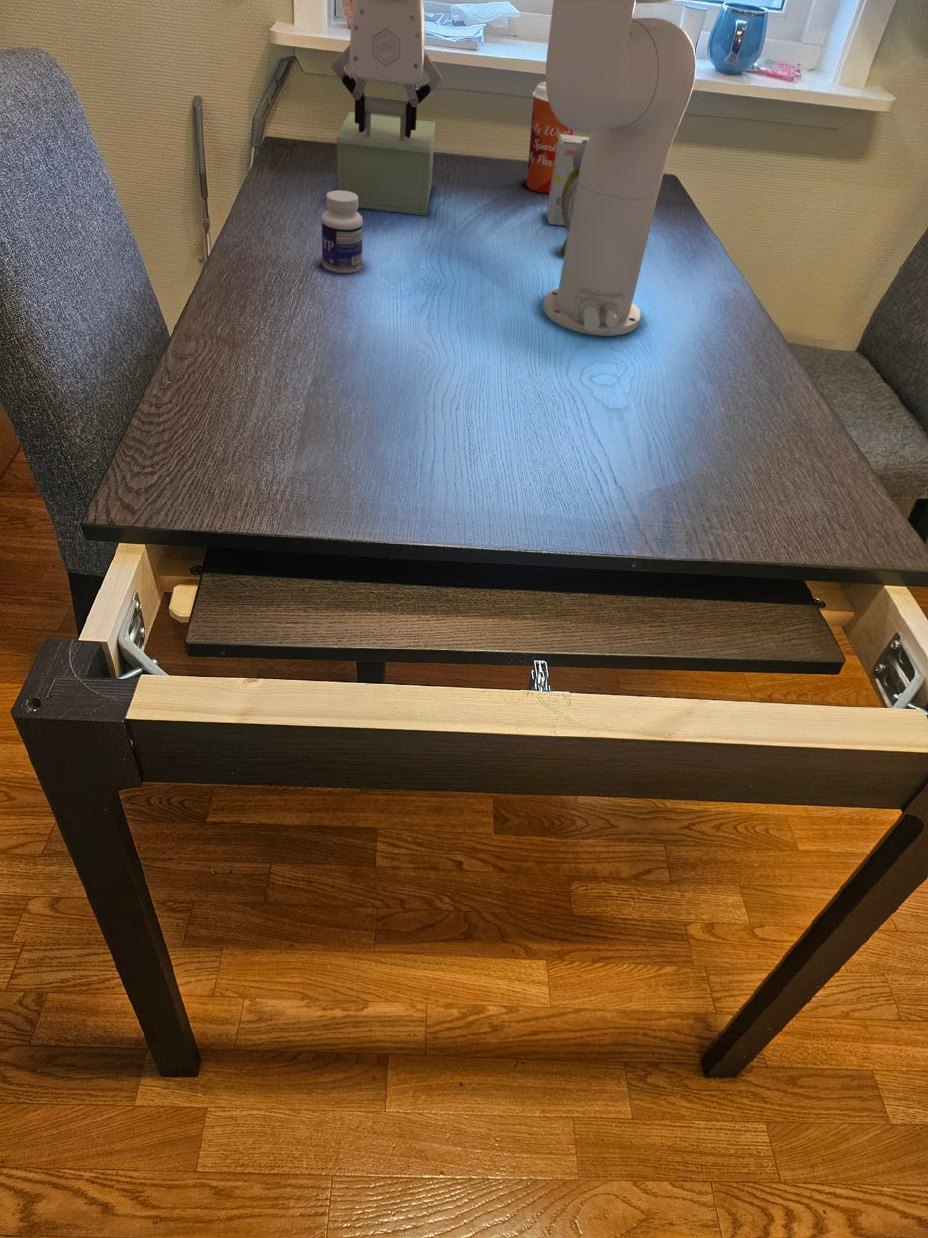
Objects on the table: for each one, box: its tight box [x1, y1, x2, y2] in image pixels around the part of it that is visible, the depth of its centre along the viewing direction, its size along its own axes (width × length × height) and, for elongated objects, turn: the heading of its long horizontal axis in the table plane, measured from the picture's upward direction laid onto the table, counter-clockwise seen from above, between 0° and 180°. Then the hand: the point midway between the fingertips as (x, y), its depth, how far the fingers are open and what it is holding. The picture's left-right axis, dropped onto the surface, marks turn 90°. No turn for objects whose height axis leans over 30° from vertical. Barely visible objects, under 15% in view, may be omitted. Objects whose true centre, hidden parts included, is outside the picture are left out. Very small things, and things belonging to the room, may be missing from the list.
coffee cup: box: [526, 81, 575, 194], centre depth 141 cm, size 8×8×15 cm
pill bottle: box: [321, 190, 364, 274], centre depth 110 cm, size 5×5×9 cm
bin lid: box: [336, 95, 436, 154], centre depth 126 cm, size 14×14×6 cm
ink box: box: [546, 134, 590, 227], centre depth 130 cm, size 9×5×12 cm, turn 89°
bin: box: [336, 129, 436, 216], centre depth 131 cm, size 14×14×9 cm
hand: (385, 130), depth 124 cm, fingers closed on bin lid, 6 cm apart
